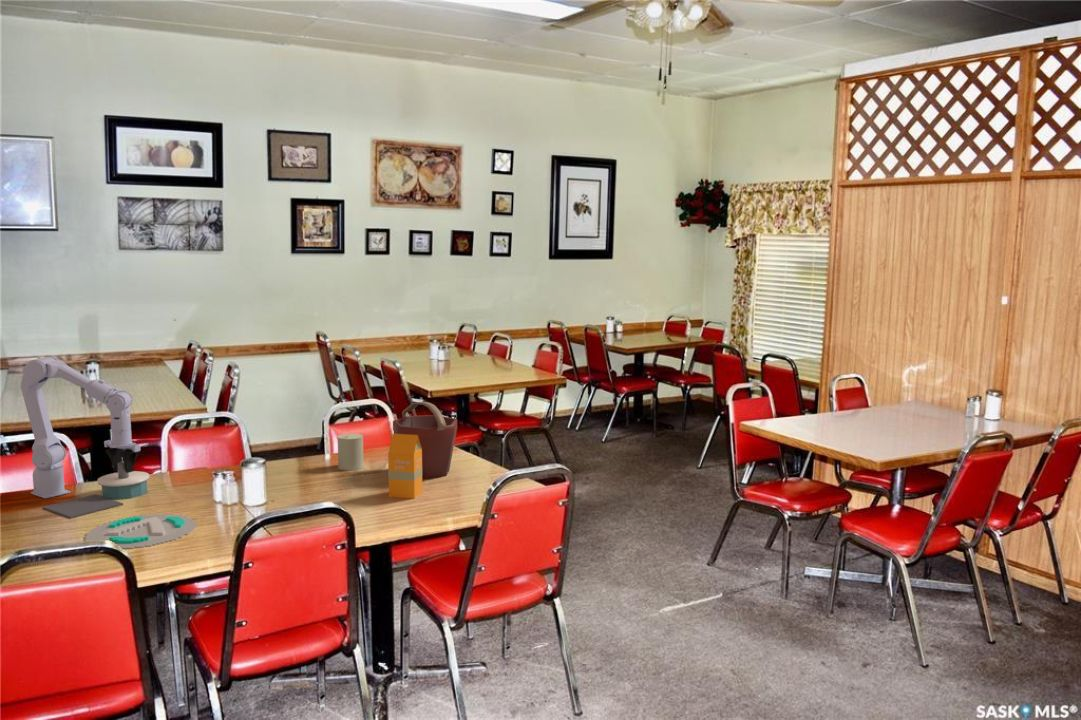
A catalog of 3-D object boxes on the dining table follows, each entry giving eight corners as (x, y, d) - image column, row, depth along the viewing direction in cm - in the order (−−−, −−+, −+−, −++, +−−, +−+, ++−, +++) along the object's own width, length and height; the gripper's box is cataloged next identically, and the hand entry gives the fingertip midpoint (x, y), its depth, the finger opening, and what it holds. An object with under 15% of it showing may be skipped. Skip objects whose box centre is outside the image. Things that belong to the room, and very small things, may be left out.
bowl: (94, 494, 274) (93, 481, 274) (132, 485, 285) (132, 472, 284) (116, 501, 267) (115, 487, 266) (155, 491, 278) (154, 478, 277)
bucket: (388, 466, 311) (387, 399, 307) (447, 461, 319) (446, 395, 316) (405, 484, 288) (404, 412, 285) (467, 478, 297) (467, 407, 293)
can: (333, 469, 307) (332, 436, 305) (346, 463, 316) (345, 431, 314) (356, 471, 304) (355, 438, 302) (368, 465, 313) (367, 433, 311)
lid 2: (209, 516, 255) (209, 511, 255) (172, 550, 228) (172, 544, 228) (114, 516, 254) (114, 511, 254) (65, 550, 227) (65, 544, 227)
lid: (86, 482, 272) (85, 464, 271) (127, 471, 285) (126, 454, 284) (119, 488, 265) (118, 470, 264) (159, 477, 279) (158, 459, 278)
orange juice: (414, 498, 273) (413, 437, 270) (388, 496, 275) (387, 436, 272) (422, 491, 280) (422, 432, 278) (397, 490, 282) (396, 430, 279)
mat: (43, 508, 260) (43, 506, 260) (95, 495, 273) (95, 494, 273) (70, 518, 251) (70, 516, 251) (123, 504, 264) (123, 503, 264)
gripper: (94, 429, 273) (97, 471, 274) (125, 434, 266) (128, 476, 268) (114, 425, 279) (116, 465, 281) (145, 430, 273) (147, 471, 274)
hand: (123, 471), depth 275 cm, fingers open, 5 cm apart
